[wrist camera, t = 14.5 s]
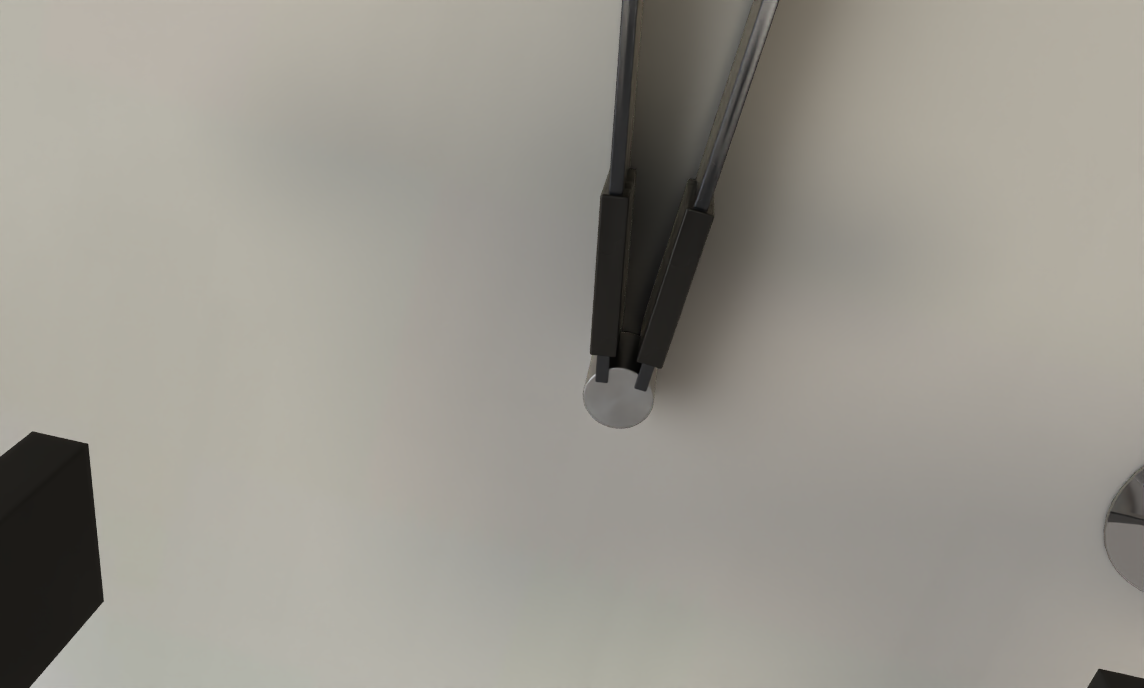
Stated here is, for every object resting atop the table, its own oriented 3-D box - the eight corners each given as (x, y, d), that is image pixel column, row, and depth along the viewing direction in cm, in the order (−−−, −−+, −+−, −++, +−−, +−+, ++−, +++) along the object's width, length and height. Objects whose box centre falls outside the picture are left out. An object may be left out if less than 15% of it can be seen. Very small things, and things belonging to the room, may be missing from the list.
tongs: (701, 405, 30) (701, 455, 28) (537, 372, 31) (520, 418, 28) (872, -266, 21) (896, -286, 19) (637, -303, 22) (627, -328, 19)
